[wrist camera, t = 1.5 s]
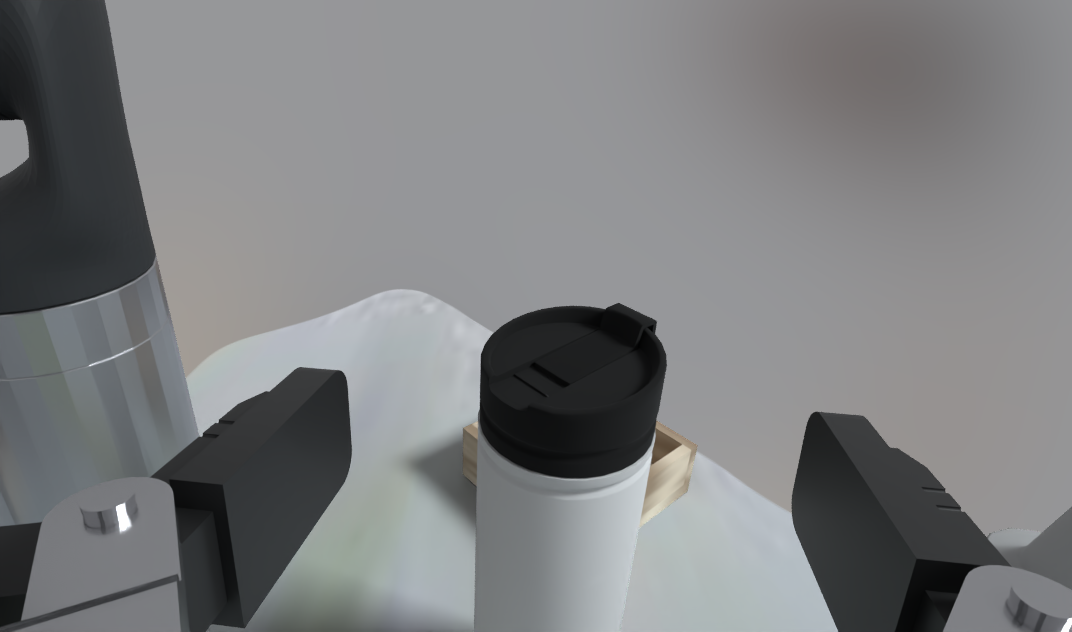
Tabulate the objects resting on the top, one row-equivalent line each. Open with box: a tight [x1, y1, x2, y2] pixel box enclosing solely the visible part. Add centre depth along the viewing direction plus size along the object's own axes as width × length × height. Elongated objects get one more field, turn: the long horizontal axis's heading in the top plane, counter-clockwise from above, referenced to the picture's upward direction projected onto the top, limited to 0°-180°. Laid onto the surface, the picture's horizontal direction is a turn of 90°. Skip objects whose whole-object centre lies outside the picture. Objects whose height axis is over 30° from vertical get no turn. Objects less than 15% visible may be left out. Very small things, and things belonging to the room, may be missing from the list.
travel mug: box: [474, 303, 667, 632], centre depth 25 cm, size 6×7×20 cm
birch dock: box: [463, 421, 697, 528], centre depth 42 cm, size 11×11×4 cm
